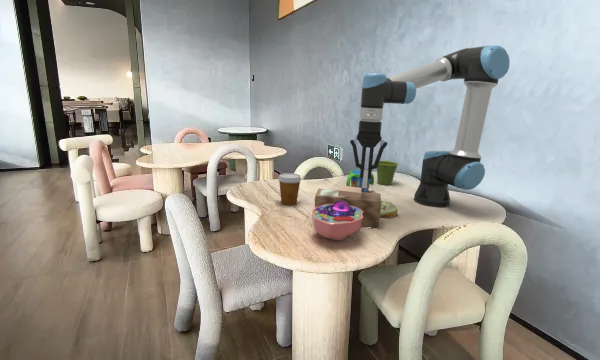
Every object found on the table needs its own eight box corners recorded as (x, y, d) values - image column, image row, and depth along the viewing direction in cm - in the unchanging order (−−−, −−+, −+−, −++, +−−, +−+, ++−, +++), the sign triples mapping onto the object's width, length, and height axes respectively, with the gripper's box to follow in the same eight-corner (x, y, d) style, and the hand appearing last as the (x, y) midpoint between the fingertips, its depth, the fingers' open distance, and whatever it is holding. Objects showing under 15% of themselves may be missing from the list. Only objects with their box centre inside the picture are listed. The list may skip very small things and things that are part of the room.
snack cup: (366, 188, 173) (367, 168, 171) (379, 194, 164) (381, 173, 162) (339, 191, 167) (341, 170, 164) (352, 197, 157) (353, 175, 155)
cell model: (298, 239, 111) (299, 205, 108) (327, 221, 128) (329, 191, 125) (346, 254, 103) (349, 217, 100) (371, 232, 119) (374, 201, 116)
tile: (361, 187, 129) (339, 185, 130) (361, 193, 122) (338, 190, 123) (360, 193, 129) (339, 190, 131) (360, 198, 123) (337, 195, 124)
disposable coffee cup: (303, 202, 148) (305, 174, 145) (294, 208, 140) (295, 179, 137) (284, 198, 152) (284, 171, 149) (273, 204, 144) (274, 176, 141)
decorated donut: (382, 220, 131) (383, 210, 130) (361, 211, 141) (361, 201, 140) (402, 215, 138) (403, 205, 137) (380, 207, 147) (381, 197, 146)
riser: (377, 218, 132) (380, 193, 130) (378, 228, 123) (381, 201, 120) (317, 213, 136) (318, 187, 133) (313, 222, 126) (315, 195, 124)
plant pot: (398, 187, 179) (401, 165, 176) (375, 186, 179) (377, 164, 176) (393, 181, 190) (395, 161, 187) (371, 180, 190) (373, 160, 187)
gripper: (350, 120, 117) (345, 188, 123) (390, 122, 115) (383, 191, 121) (351, 118, 124) (346, 182, 130) (389, 120, 122) (382, 185, 128)
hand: (364, 187), depth 125 cm, fingers closed
